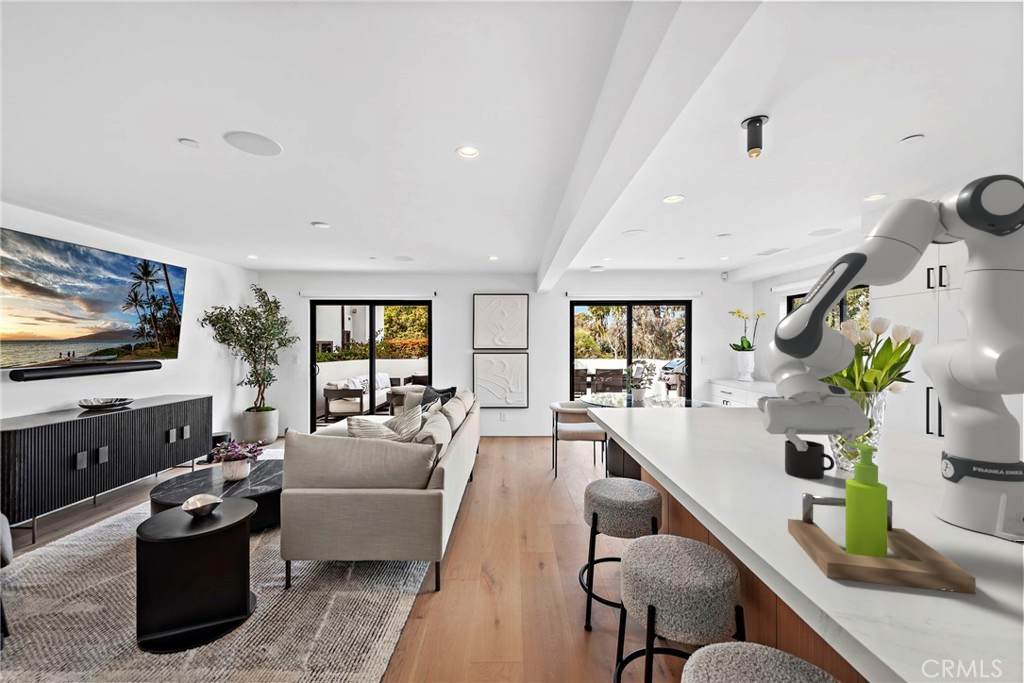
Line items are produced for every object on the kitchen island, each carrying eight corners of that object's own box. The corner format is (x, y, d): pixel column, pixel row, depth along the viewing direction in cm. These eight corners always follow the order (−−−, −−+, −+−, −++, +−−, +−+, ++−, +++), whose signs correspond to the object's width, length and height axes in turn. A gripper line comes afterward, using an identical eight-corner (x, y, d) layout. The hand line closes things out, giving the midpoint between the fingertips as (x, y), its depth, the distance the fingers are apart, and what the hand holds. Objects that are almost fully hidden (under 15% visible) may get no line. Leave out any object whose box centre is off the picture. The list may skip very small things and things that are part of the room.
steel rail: (888, 527, 86) (889, 499, 86) (894, 531, 85) (894, 502, 85) (800, 519, 90) (801, 492, 90) (804, 523, 88) (804, 496, 88)
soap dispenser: (863, 545, 85) (863, 440, 84) (896, 563, 78) (896, 449, 77) (833, 545, 84) (833, 440, 84) (863, 564, 77) (863, 450, 77)
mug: (828, 484, 119) (828, 450, 119) (779, 473, 129) (779, 442, 128) (839, 477, 125) (839, 445, 125) (792, 467, 134) (792, 438, 134)
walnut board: (903, 541, 86) (903, 528, 86) (975, 593, 68) (975, 577, 68) (787, 531, 91) (787, 519, 91) (827, 577, 73) (827, 562, 73)
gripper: (758, 388, 101) (779, 440, 91) (856, 388, 99) (888, 443, 89) (750, 404, 105) (769, 456, 96) (843, 405, 103) (872, 459, 93)
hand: (827, 450), depth 92 cm, fingers open, 8 cm apart
